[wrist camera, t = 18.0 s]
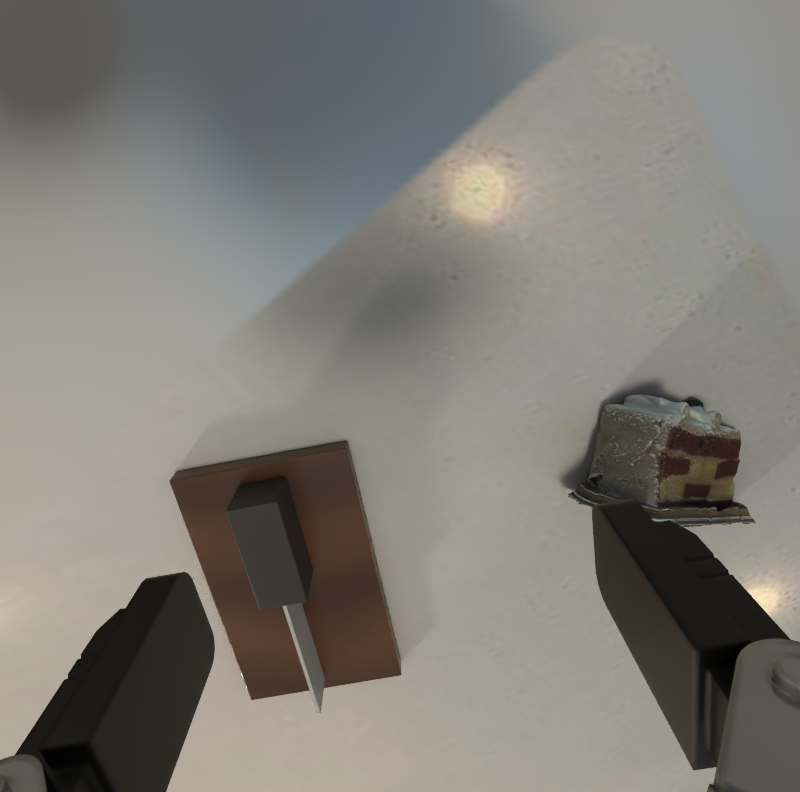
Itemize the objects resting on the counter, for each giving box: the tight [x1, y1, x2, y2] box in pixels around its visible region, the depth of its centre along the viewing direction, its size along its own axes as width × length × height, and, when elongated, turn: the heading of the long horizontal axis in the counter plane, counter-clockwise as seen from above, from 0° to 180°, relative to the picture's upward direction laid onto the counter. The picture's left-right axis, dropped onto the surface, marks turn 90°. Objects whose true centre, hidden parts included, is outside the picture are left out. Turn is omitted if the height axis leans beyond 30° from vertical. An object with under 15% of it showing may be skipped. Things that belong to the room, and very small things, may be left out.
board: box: [170, 441, 401, 700], centre depth 37 cm, size 18×11×1 cm, turn 11°
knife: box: [226, 477, 325, 714], centre depth 35 cm, size 16×3×3 cm, turn 11°
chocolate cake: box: [568, 394, 755, 527], centre depth 33 cm, size 10×7×12 cm
